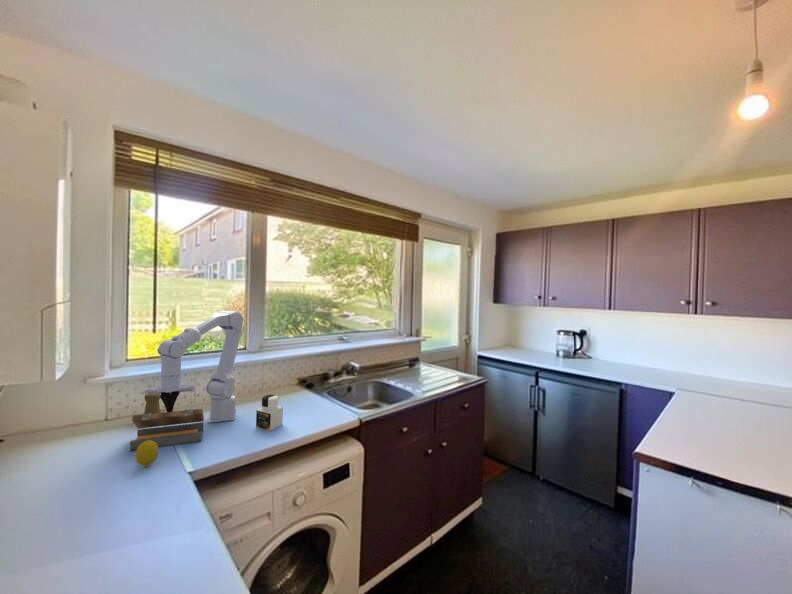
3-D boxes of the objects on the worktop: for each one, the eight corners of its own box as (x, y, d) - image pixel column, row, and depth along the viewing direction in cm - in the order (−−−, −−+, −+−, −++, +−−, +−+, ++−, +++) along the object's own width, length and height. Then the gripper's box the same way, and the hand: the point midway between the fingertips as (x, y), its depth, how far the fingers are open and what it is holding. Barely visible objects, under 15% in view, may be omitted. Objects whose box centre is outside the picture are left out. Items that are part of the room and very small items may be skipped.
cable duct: (203, 429, 127) (203, 422, 127) (200, 441, 118) (200, 433, 118) (138, 437, 119) (138, 429, 119) (129, 451, 110) (130, 442, 110)
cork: (165, 417, 136) (165, 390, 136) (153, 423, 130) (153, 395, 130) (151, 416, 137) (152, 389, 137) (138, 422, 131) (139, 394, 131)
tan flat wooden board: (203, 422, 127) (204, 417, 128) (201, 413, 119) (202, 408, 120) (138, 429, 118) (139, 424, 119) (131, 421, 110) (132, 415, 111)
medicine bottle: (255, 427, 131) (256, 397, 131) (268, 421, 138) (269, 392, 137) (269, 431, 129) (270, 400, 128) (282, 424, 135) (283, 395, 135)
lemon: (133, 472, 98) (134, 445, 98) (137, 463, 103) (138, 437, 103) (156, 468, 101) (157, 442, 100) (159, 459, 106) (160, 434, 105)
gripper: (142, 379, 111) (141, 419, 112) (193, 376, 117) (192, 414, 118) (147, 373, 118) (146, 412, 118) (196, 371, 124) (194, 407, 124)
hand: (169, 413), depth 118 cm, fingers closed, pressing on tan flat wooden board
